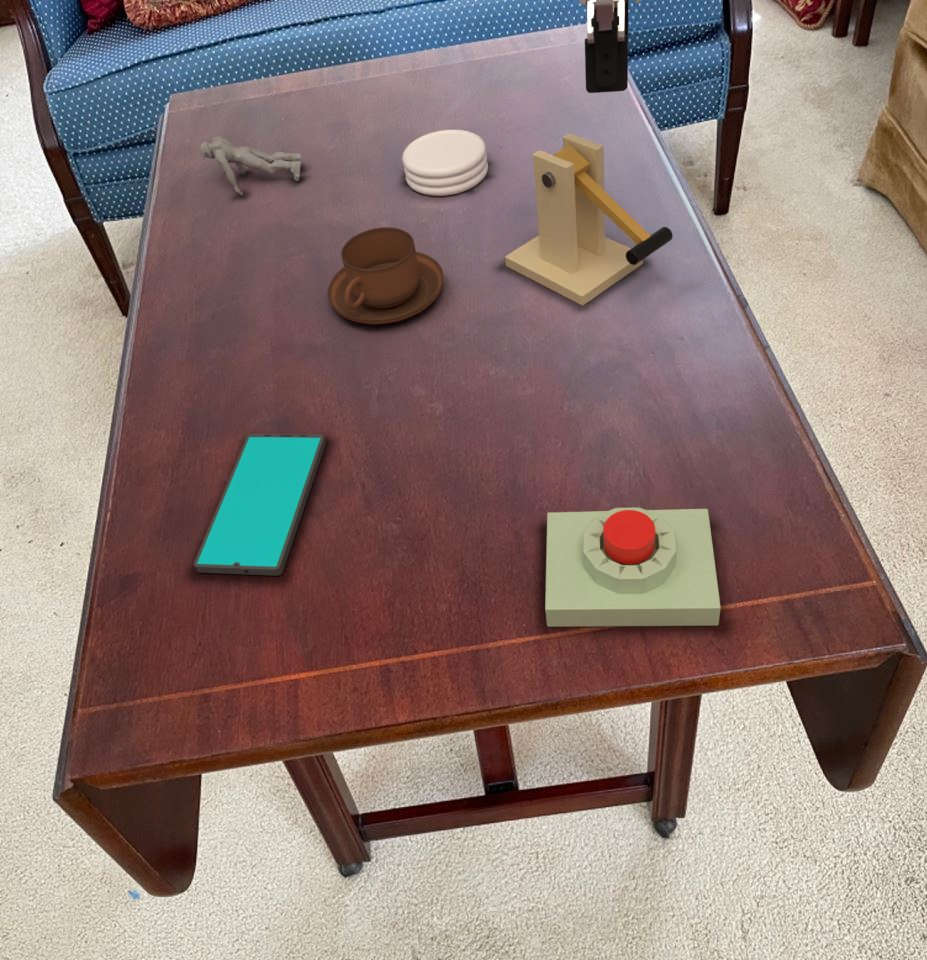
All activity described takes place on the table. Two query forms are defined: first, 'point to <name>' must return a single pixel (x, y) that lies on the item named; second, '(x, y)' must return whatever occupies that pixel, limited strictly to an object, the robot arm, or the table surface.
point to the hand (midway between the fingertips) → (608, 62)
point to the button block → (631, 573)
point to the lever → (615, 210)
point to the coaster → (445, 162)
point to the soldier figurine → (248, 159)
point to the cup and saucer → (384, 278)
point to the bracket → (570, 230)
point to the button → (629, 537)
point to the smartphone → (261, 505)
